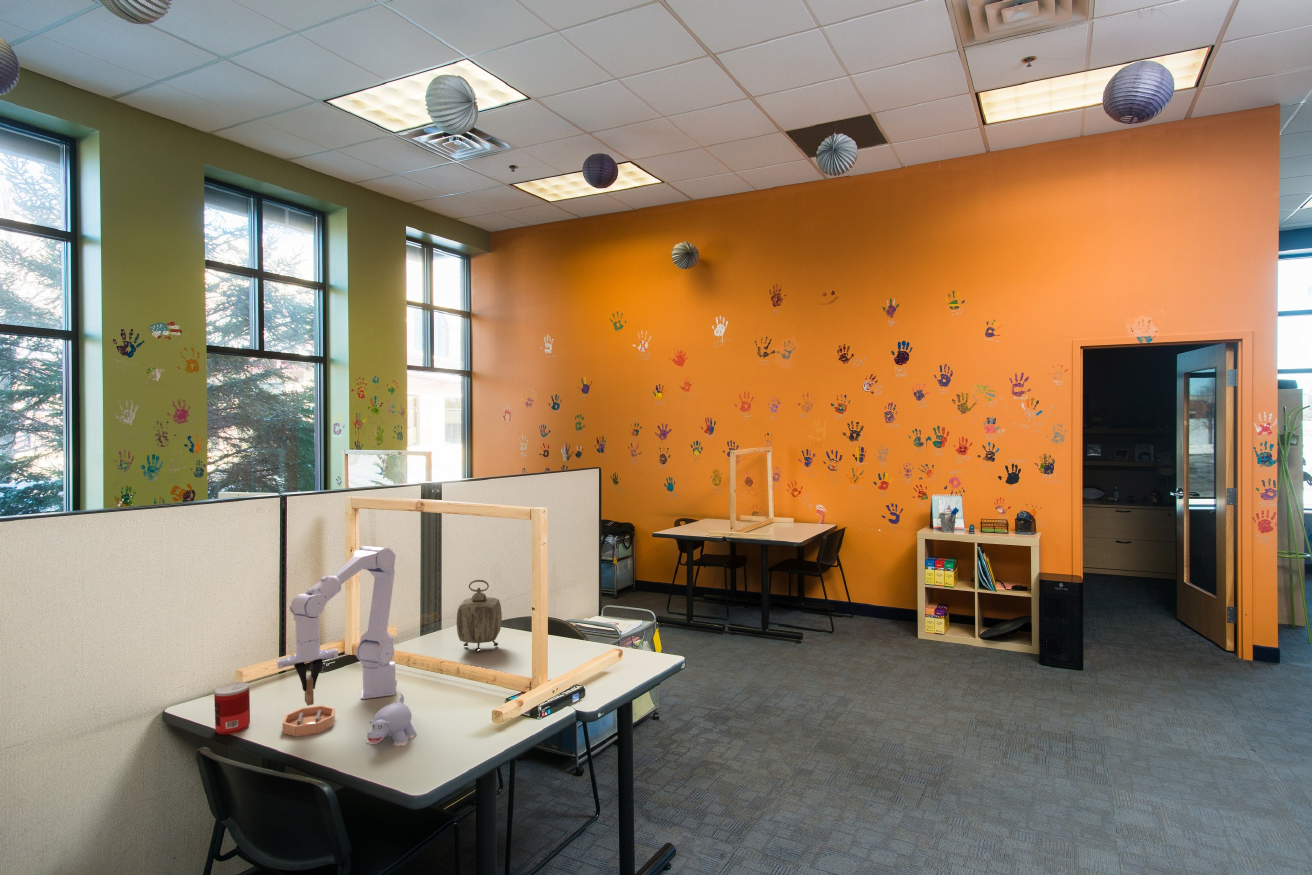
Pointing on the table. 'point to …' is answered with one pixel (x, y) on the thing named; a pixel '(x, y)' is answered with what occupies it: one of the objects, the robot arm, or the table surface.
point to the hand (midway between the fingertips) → (308, 688)
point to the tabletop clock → (479, 618)
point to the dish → (308, 720)
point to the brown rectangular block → (309, 690)
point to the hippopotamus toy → (392, 724)
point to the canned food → (232, 708)
